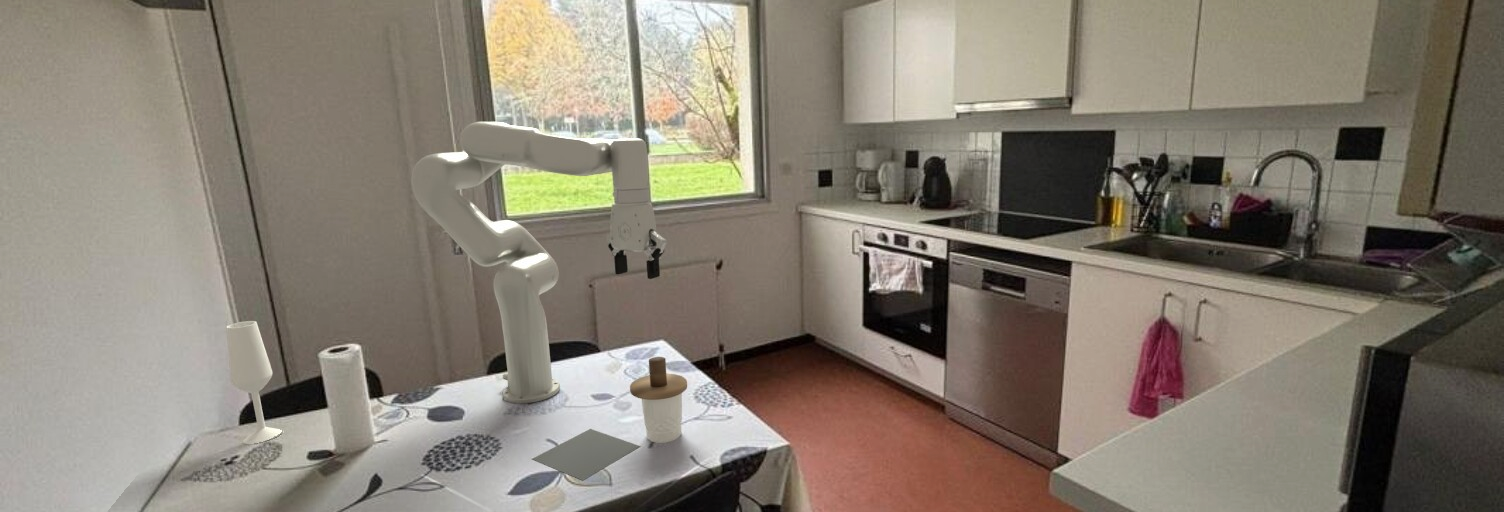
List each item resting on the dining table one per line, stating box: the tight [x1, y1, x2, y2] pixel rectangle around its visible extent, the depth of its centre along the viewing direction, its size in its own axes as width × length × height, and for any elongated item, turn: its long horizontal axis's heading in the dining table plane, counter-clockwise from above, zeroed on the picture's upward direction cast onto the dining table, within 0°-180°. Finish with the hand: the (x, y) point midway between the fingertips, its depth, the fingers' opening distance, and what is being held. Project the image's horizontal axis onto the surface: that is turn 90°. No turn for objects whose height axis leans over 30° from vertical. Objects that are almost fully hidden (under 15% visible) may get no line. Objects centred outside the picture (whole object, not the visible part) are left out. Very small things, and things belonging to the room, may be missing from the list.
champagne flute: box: [226, 320, 283, 445], centre depth 127 cm, size 7×7×24 cm
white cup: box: [641, 393, 683, 444], centre depth 123 cm, size 8×8×10 cm
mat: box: [531, 428, 641, 481], centre depth 118 cm, size 14×14×1 cm
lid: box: [629, 356, 688, 400], centre depth 122 cm, size 11×11×6 cm
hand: (637, 275), depth 138 cm, fingers open, 9 cm apart
